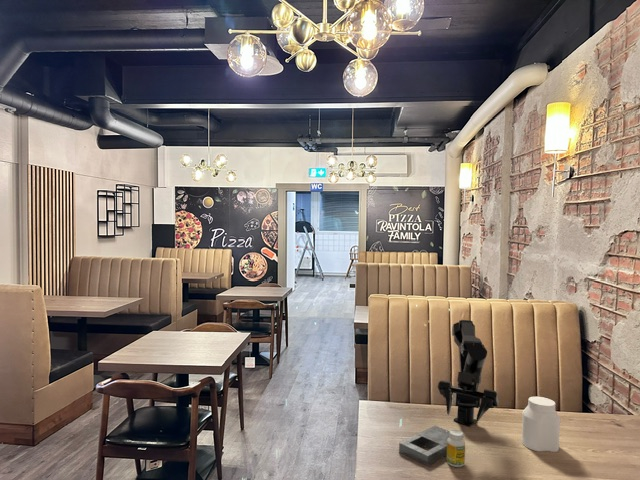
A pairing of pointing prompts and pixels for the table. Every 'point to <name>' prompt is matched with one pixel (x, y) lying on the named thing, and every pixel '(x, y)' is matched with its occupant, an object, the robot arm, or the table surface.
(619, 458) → the table surface
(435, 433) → the grey slotted block
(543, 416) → the jar
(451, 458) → the supplement bottle
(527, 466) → the table surface
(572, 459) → the table surface
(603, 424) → the table surface
